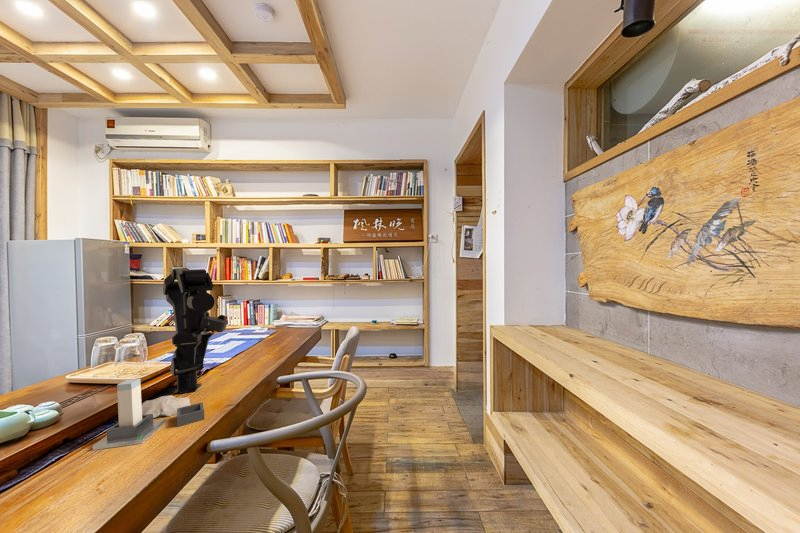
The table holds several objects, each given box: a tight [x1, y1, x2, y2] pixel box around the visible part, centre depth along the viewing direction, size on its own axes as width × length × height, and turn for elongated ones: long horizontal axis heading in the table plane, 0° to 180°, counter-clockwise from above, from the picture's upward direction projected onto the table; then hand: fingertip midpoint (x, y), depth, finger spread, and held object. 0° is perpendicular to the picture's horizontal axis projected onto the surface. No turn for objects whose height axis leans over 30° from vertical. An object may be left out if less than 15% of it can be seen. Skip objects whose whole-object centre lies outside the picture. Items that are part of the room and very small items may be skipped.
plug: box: [116, 378, 143, 427], centre depth 78 cm, size 4×3×12 cm
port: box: [92, 414, 166, 451], centre depth 78 cm, size 10×10×4 cm
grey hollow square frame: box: [176, 402, 205, 427], centre depth 85 cm, size 7×6×2 cm
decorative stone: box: [142, 394, 192, 419], centre depth 91 cm, size 11×4×15 cm
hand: (197, 360), depth 96 cm, fingers open, 9 cm apart
